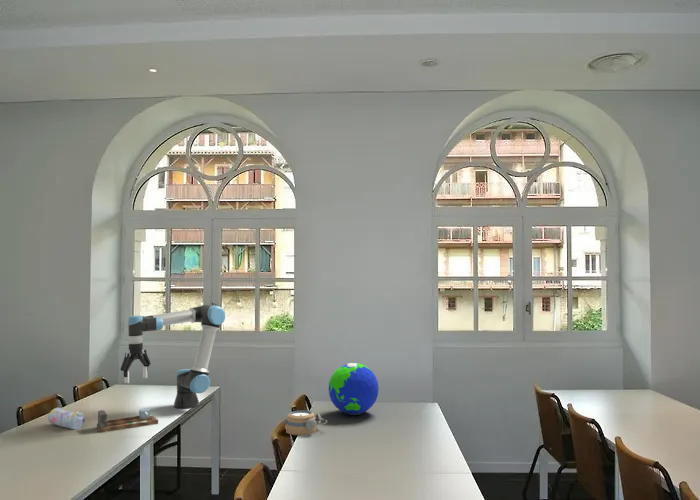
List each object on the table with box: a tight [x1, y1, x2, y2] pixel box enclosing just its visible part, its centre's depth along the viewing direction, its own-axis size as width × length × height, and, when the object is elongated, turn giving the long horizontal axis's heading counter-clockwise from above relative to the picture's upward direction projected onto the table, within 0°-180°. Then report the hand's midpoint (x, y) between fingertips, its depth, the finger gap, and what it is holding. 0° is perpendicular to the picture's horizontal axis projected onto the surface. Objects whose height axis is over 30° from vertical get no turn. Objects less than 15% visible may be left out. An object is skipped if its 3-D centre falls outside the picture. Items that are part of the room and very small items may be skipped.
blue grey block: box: [138, 408, 151, 419], centre depth 315 cm, size 5×9×5 cm, turn 32°
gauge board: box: [96, 409, 159, 433], centre depth 312 cm, size 30×12×9 cm, turn 122°
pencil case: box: [47, 407, 86, 430], centre depth 311 cm, size 21×9×10 cm, turn 63°
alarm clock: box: [282, 409, 328, 436], centre depth 299 cm, size 17×9×23 cm
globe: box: [328, 362, 379, 416], centre depth 332 cm, size 30×30×30 cm
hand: (136, 380), depth 321 cm, fingers open, 13 cm apart
